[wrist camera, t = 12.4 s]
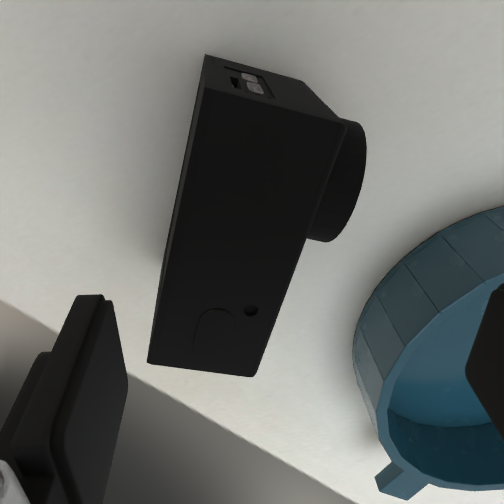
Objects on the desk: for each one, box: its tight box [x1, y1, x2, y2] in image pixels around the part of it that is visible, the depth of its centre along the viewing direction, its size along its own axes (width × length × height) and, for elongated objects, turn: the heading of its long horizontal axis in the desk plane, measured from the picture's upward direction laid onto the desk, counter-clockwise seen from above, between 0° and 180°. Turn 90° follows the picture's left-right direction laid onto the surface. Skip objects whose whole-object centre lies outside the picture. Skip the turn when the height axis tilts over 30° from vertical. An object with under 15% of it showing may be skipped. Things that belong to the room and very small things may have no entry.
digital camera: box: [147, 54, 367, 377], centre depth 18 cm, size 10×5×7 cm, turn 165°
